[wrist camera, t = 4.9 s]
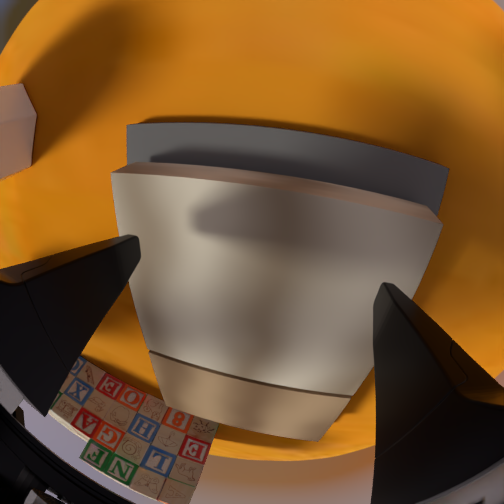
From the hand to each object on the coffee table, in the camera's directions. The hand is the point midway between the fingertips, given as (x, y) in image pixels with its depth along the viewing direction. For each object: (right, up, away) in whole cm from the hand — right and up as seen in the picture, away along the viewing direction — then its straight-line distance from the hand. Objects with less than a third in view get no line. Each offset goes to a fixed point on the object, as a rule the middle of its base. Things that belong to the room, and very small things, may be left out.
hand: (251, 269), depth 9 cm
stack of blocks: (-14, -18, +20) cm, 30 cm away
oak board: (0, -10, +10) cm, 15 cm away
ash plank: (+1, -1, +5) cm, 5 cm away
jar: (-21, +11, +6) cm, 24 cm away
